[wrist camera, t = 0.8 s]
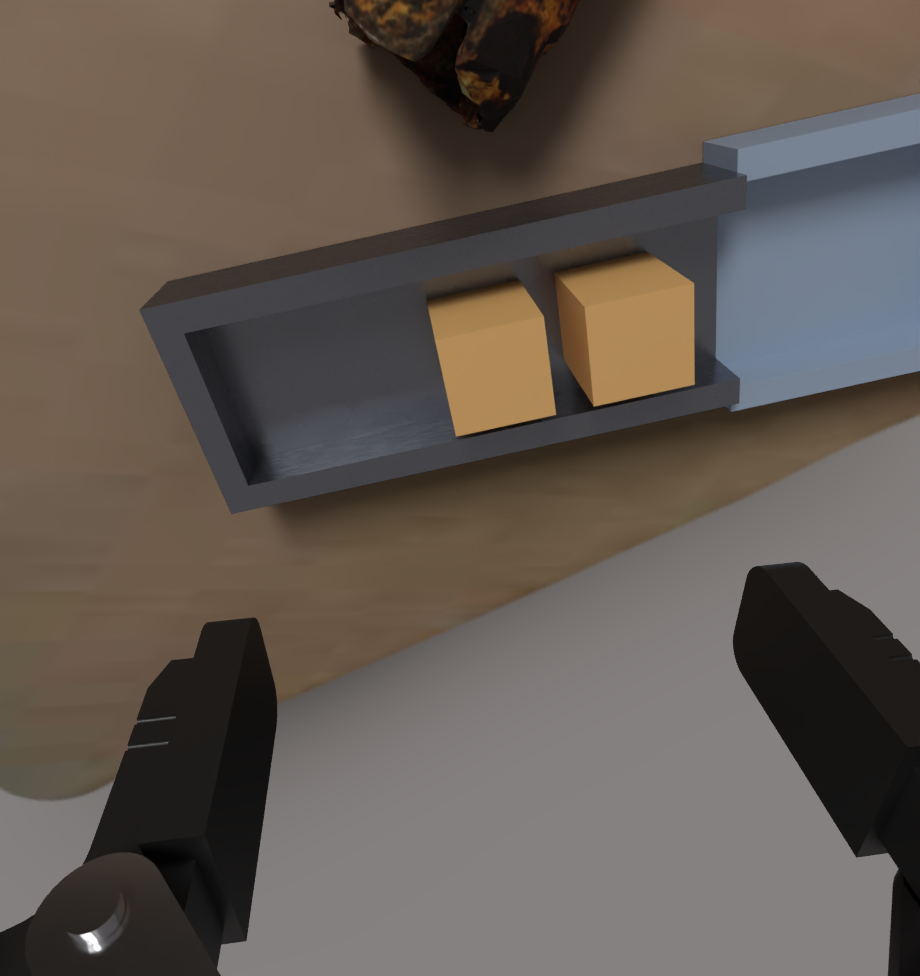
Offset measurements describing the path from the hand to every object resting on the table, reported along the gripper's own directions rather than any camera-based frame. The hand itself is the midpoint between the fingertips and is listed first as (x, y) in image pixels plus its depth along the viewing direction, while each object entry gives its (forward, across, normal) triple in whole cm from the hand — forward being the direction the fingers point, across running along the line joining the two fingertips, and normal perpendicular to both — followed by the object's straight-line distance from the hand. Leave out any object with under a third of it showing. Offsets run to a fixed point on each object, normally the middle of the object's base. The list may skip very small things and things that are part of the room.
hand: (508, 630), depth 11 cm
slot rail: (+22, -1, +2) cm, 22 cm away
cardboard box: (+20, -8, +1) cm, 22 cm away
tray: (+22, -19, 0) cm, 29 cm away
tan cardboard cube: (+20, -2, +2) cm, 21 cm away
